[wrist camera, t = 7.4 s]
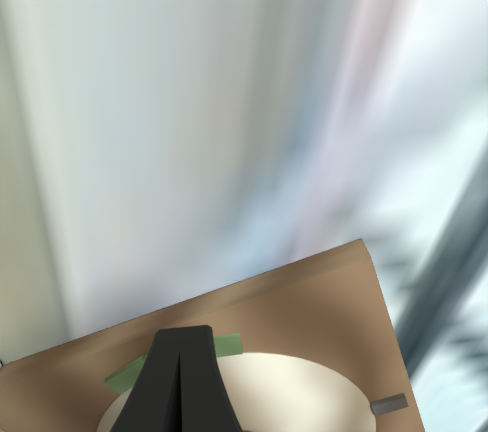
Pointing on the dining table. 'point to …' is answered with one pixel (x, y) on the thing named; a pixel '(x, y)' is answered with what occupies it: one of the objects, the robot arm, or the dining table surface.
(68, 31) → the dining table surface
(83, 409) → the board
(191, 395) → the robot arm
